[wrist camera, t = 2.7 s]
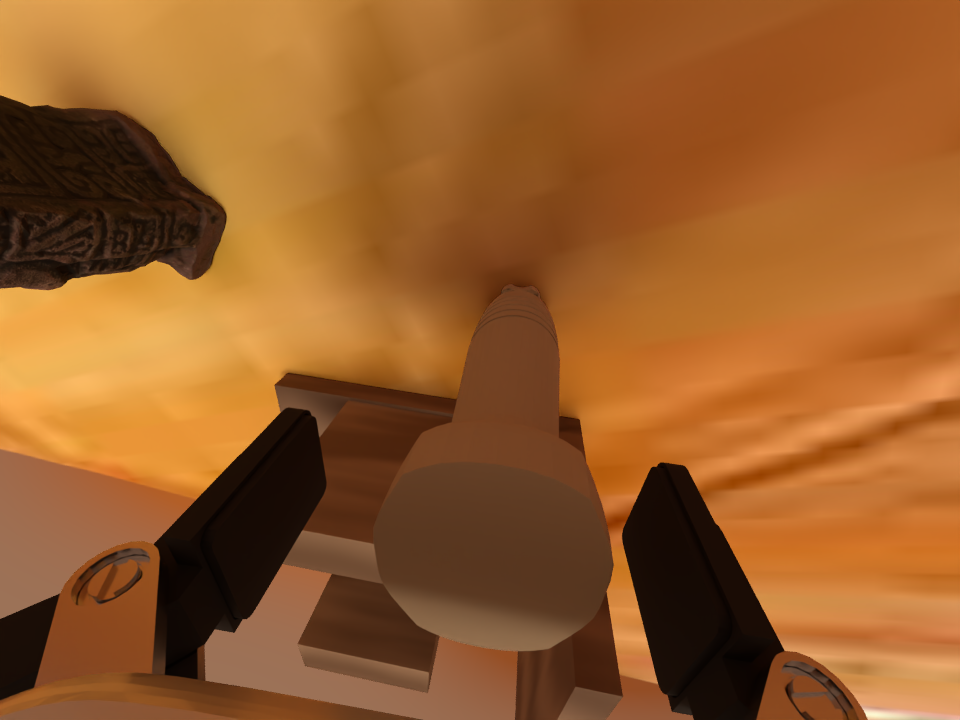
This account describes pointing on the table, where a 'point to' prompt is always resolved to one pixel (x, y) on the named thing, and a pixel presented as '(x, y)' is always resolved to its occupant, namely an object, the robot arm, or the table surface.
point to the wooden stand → (355, 577)
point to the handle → (498, 500)
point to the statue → (94, 199)
